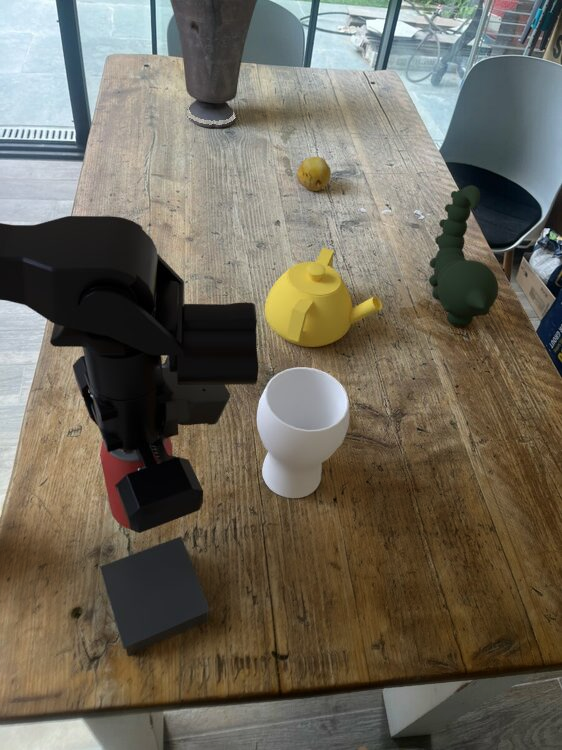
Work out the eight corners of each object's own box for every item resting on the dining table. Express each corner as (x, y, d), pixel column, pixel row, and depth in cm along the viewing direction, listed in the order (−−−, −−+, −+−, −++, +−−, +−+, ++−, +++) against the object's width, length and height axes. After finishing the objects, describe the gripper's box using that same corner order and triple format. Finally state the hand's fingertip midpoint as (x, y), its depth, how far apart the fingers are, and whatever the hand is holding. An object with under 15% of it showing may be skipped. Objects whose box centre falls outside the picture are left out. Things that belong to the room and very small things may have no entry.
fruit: (339, 175, 119) (331, 151, 126) (308, 166, 117) (302, 142, 124) (326, 203, 124) (319, 179, 131) (296, 195, 122) (290, 171, 128)
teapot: (360, 382, 88) (376, 329, 80) (246, 349, 90) (250, 294, 82) (382, 304, 101) (398, 251, 93) (283, 277, 104) (289, 223, 96)
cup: (291, 427, 81) (305, 350, 70) (348, 476, 76) (373, 402, 65) (233, 469, 75) (239, 392, 64) (292, 525, 70) (308, 453, 60)
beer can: (98, 518, 59) (81, 448, 51) (132, 470, 64) (122, 398, 55) (155, 543, 58) (148, 475, 50) (186, 492, 63) (184, 421, 54)
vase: (228, 145, 136) (233, -3, 114) (149, 120, 141) (140, -27, 119) (269, 113, 150) (280, -24, 128) (196, 91, 155) (195, -44, 133)
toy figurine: (412, 266, 113) (437, 347, 94) (440, 171, 100) (475, 242, 82) (460, 270, 113) (494, 352, 95) (493, 176, 101) (540, 249, 82)
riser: (126, 658, 58) (123, 648, 56) (103, 579, 64) (99, 566, 61) (210, 622, 62) (210, 610, 59) (181, 549, 67) (181, 535, 65)
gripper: (267, 428, 44) (253, 528, 55) (180, 283, 55) (183, 392, 66) (122, 478, 40) (139, 575, 51) (59, 310, 51) (84, 421, 62)
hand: (140, 480), depth 58 cm, fingers closed on beer can, 6 cm apart
